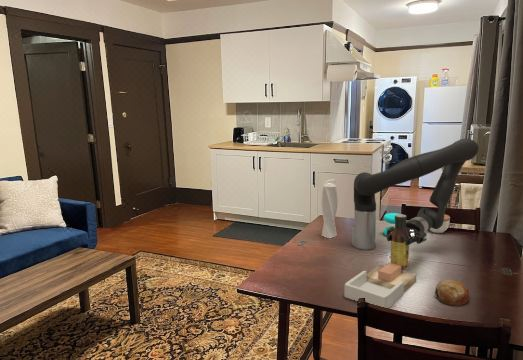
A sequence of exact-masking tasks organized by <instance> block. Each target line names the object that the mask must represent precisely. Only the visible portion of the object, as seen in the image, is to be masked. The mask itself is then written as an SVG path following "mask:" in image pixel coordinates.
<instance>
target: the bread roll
mask: <svg viewBox="0 0 523 360" xmlns="http://www.w3.org/2000/svg"><path fill="white" fill-rule="evenodd" d="M434 297H435V298H436V299H437V300H439V301H440V302H442V303H443V304H446V305H448V306H462V305H465V304H467V303H468V302H469V300H470V293H469V289H468V288H466V286H465V285H464V284H463V283H461V282H460V281H457V280H452V279H442V280H440V281H439V282H438V283H437V285H436V287H435V289H434Z"/></svg>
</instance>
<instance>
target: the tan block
mask: <svg viewBox="0 0 523 360" xmlns="http://www.w3.org/2000/svg"><path fill="white" fill-rule="evenodd" d="M383 266H384V267H387V268H391V269H394V270H396V277H398V276H399V275H400V274H401V271H402V270H401V266H400V265H396V264H393V263H391V262H388V263H387V264H386V265H383Z"/></svg>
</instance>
